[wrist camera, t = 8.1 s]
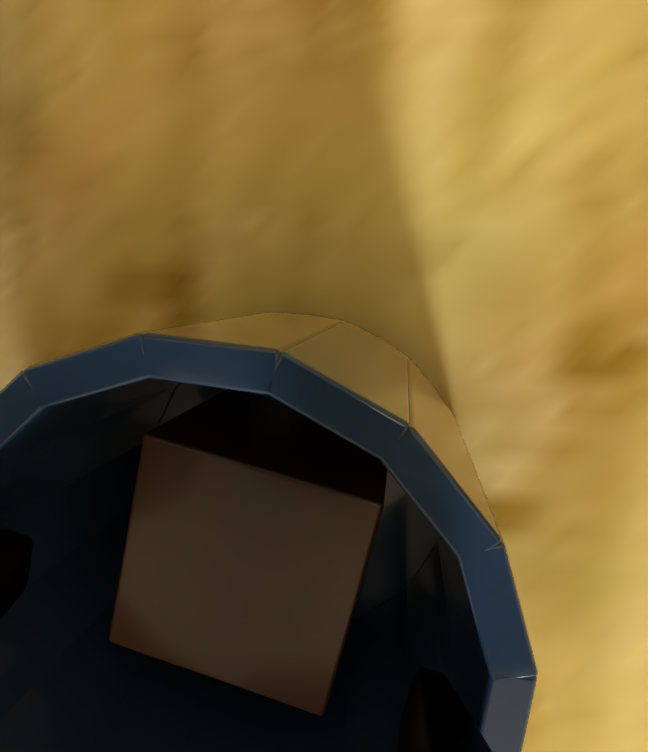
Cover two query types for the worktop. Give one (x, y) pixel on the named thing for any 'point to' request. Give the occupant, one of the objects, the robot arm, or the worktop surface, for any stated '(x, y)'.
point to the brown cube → (248, 547)
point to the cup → (379, 586)
